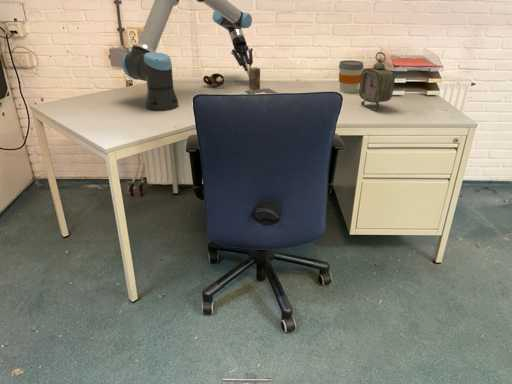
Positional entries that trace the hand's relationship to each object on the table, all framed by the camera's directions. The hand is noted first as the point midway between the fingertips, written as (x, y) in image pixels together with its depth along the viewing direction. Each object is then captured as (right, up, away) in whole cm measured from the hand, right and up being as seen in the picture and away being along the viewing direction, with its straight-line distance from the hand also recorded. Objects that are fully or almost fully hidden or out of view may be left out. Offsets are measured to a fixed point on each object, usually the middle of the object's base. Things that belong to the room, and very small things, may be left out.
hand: (250, 75), depth 223 cm
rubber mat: (+6, -12, -10) cm, 16 cm away
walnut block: (+2, -8, -3) cm, 9 cm away
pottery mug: (-20, -6, +1) cm, 21 cm away
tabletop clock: (+59, -25, -33) cm, 72 cm away
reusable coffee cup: (+53, -10, -5) cm, 54 cm away
